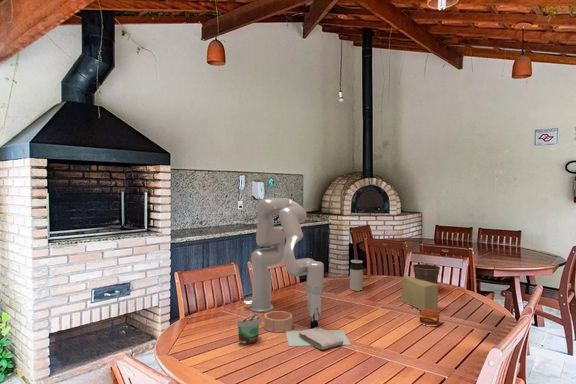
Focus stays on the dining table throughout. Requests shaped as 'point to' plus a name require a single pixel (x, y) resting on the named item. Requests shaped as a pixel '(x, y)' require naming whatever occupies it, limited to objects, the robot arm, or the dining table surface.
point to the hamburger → (429, 317)
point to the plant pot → (426, 272)
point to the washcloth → (320, 338)
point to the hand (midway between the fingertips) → (314, 329)
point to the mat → (297, 341)
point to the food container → (249, 330)
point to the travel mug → (356, 275)
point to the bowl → (278, 321)
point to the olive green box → (420, 293)
